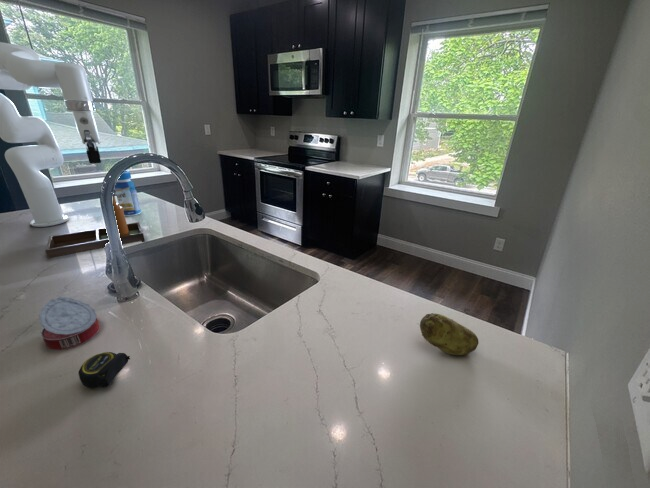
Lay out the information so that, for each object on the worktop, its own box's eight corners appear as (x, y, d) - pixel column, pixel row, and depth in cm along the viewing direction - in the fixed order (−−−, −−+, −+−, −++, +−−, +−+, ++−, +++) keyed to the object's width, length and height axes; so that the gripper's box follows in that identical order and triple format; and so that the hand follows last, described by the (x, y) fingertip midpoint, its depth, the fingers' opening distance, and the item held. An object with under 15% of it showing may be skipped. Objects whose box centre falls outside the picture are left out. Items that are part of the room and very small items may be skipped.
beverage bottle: (145, 213, 143) (135, 171, 135) (127, 218, 137) (115, 174, 128) (136, 209, 147) (125, 169, 139) (117, 214, 141) (105, 171, 132)
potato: (474, 370, 63) (484, 342, 60) (413, 349, 69) (419, 321, 65) (475, 345, 70) (484, 318, 67) (420, 327, 75) (426, 301, 72)
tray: (52, 245, 110) (49, 236, 108) (140, 230, 125) (138, 222, 124) (49, 259, 100) (45, 250, 98) (145, 241, 115) (143, 233, 114)
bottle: (111, 236, 116) (98, 192, 109) (129, 233, 120) (117, 190, 112) (112, 242, 112) (98, 197, 105) (130, 238, 115) (119, 194, 108)
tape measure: (109, 393, 56) (103, 378, 54) (73, 390, 56) (67, 376, 54) (132, 364, 62) (128, 350, 60) (100, 362, 62) (95, 348, 61)
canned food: (90, 334, 76) (102, 297, 76) (97, 353, 69) (110, 312, 69) (29, 335, 67) (41, 294, 67) (30, 357, 60) (44, 310, 60)
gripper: (95, 108, 93) (109, 164, 100) (94, 106, 105) (107, 156, 113) (64, 107, 89) (81, 165, 96) (67, 105, 101) (82, 157, 108)
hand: (95, 160), depth 104 cm, fingers open, 9 cm apart
